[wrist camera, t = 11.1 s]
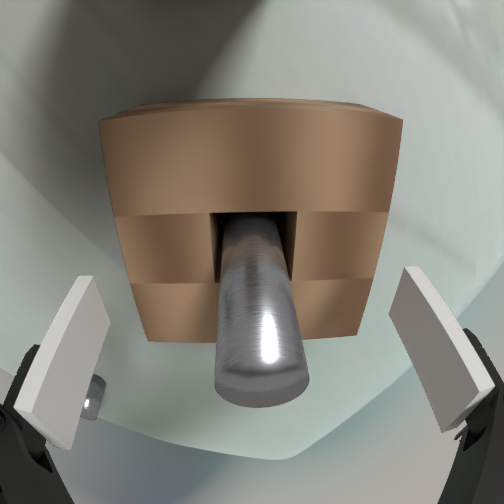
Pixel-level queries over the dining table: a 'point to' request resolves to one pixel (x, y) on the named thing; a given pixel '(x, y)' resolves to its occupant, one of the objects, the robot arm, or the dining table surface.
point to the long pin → (257, 317)
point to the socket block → (250, 203)
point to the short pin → (93, 398)
